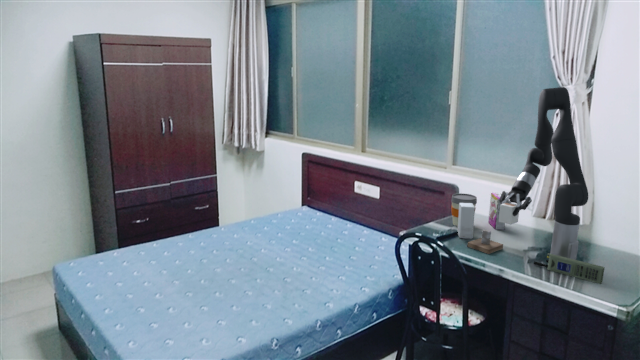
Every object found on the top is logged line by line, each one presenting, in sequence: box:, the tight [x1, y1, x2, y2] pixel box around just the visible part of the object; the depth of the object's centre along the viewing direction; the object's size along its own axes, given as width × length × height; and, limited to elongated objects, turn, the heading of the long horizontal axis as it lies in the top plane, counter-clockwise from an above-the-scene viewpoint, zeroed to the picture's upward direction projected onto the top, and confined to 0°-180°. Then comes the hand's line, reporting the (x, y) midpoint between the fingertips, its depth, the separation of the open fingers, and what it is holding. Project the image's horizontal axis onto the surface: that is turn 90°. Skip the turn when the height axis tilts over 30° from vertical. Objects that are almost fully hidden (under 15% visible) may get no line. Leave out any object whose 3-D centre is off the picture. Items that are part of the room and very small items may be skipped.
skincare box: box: [457, 203, 476, 239], centre depth 229 cm, size 8×7×16 cm
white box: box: [499, 202, 520, 226], centre depth 217 cm, size 6×6×8 cm
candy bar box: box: [488, 192, 507, 231], centre depth 244 cm, size 11×5×16 cm, turn 179°
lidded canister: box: [450, 192, 478, 227], centre depth 246 cm, size 13×13×15 cm
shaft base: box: [467, 228, 504, 255], centre depth 216 cm, size 11×11×8 cm
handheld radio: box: [533, 252, 606, 285], centre depth 190 cm, size 7×3×25 cm
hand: (507, 213), depth 216 cm, fingers closed on white box, 6 cm apart
